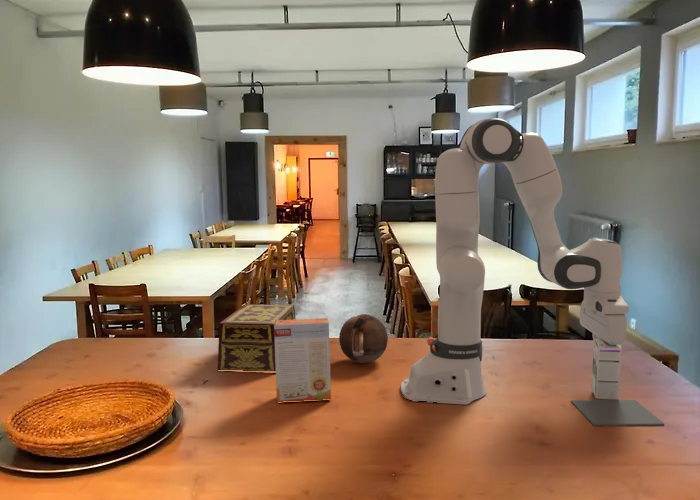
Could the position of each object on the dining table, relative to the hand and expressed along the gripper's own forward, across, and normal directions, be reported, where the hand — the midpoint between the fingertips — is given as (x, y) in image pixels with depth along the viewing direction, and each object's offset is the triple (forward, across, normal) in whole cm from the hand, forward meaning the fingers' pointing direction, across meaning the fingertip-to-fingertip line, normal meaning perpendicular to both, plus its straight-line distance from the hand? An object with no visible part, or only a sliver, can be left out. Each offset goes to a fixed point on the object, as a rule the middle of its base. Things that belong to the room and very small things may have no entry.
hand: (599, 351), depth 151 cm
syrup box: (+10, +4, 0) cm, 11 cm away
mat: (+11, +15, -2) cm, 18 cm away
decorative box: (+11, -30, -95) cm, 100 cm away
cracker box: (+11, +4, -78) cm, 79 cm away
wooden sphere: (+11, -25, -62) cm, 68 cm away
